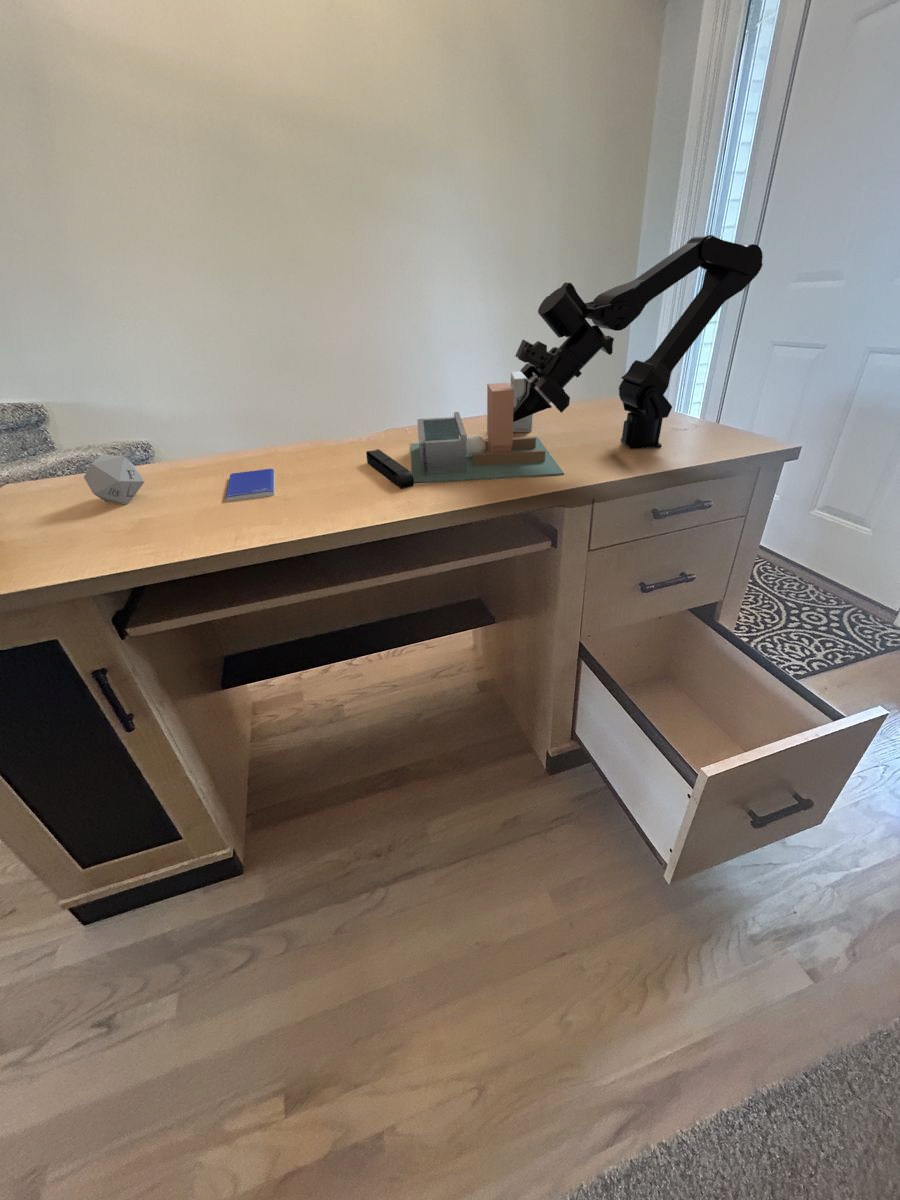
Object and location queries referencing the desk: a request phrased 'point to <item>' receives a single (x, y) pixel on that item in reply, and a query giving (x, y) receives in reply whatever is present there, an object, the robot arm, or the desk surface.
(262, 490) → the hard drive
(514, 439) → the plate
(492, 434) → the salmon orange block
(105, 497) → the die
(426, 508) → the desk surface
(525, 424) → the ink box
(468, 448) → the ball
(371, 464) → the portable electronic device stand
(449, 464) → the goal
